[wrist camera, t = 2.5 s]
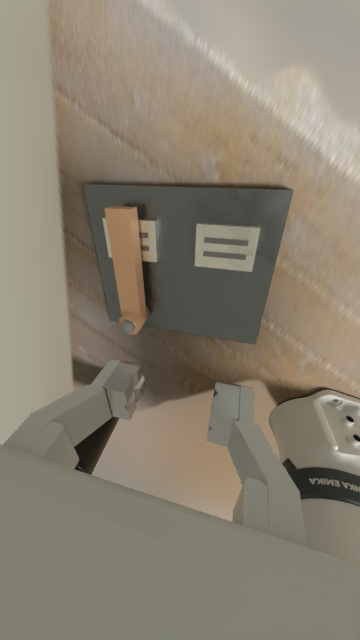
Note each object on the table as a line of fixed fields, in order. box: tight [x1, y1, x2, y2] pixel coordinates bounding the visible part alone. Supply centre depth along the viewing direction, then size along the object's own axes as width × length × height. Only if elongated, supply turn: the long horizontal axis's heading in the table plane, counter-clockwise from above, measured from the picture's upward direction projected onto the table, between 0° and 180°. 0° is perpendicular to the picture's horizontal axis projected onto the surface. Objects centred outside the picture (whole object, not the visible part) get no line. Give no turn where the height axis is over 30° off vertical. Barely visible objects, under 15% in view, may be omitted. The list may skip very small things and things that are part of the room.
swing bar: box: [104, 206, 150, 335], centre depth 30 cm, size 17×3×5 cm, turn 179°
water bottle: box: [74, 416, 119, 475], centre depth 42 cm, size 10×10×23 cm
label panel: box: [83, 184, 293, 344], centre depth 31 cm, size 24×20×3 cm
